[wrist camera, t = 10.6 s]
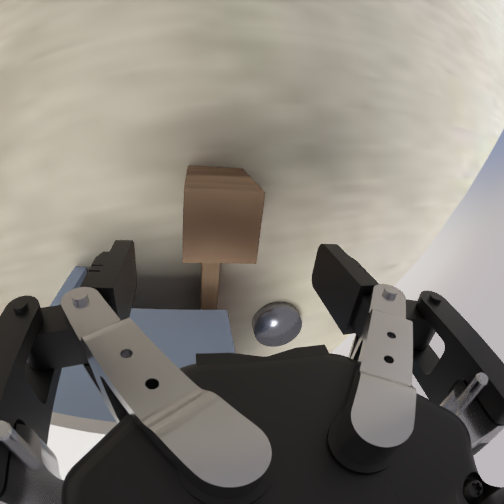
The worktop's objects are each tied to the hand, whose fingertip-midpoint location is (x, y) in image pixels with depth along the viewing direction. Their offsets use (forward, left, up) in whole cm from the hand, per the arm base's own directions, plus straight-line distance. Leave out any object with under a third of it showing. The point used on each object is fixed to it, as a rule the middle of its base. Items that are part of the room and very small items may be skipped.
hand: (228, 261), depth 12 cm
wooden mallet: (+8, 0, -13) cm, 15 cm away
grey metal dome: (+13, +7, -13) cm, 20 cm away
